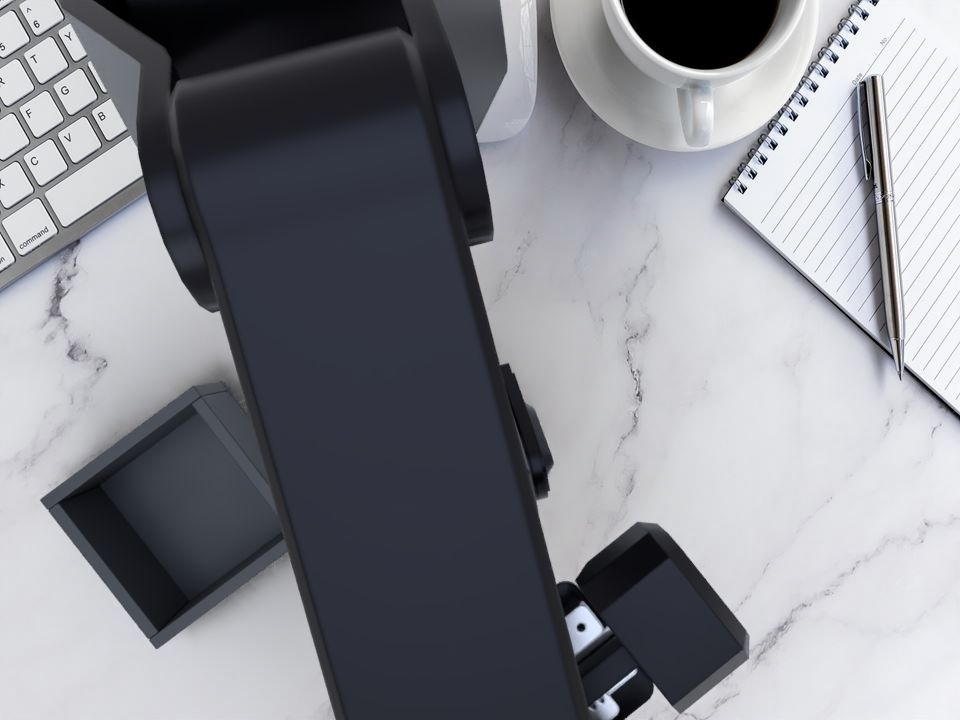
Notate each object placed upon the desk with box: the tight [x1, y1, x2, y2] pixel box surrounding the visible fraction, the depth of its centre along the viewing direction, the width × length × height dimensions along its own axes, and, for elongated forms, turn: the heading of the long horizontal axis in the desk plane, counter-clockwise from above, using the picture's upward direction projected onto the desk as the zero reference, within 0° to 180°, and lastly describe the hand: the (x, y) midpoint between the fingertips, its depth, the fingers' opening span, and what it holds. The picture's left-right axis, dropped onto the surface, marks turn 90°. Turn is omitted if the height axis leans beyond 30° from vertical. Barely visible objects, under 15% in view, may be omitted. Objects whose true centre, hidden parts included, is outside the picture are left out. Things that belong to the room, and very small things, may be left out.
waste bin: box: [39, 380, 288, 650], centre depth 48 cm, size 10×10×6 cm
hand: (499, 652), depth 41 cm, fingers closed on ink cartridge, 3 cm apart
